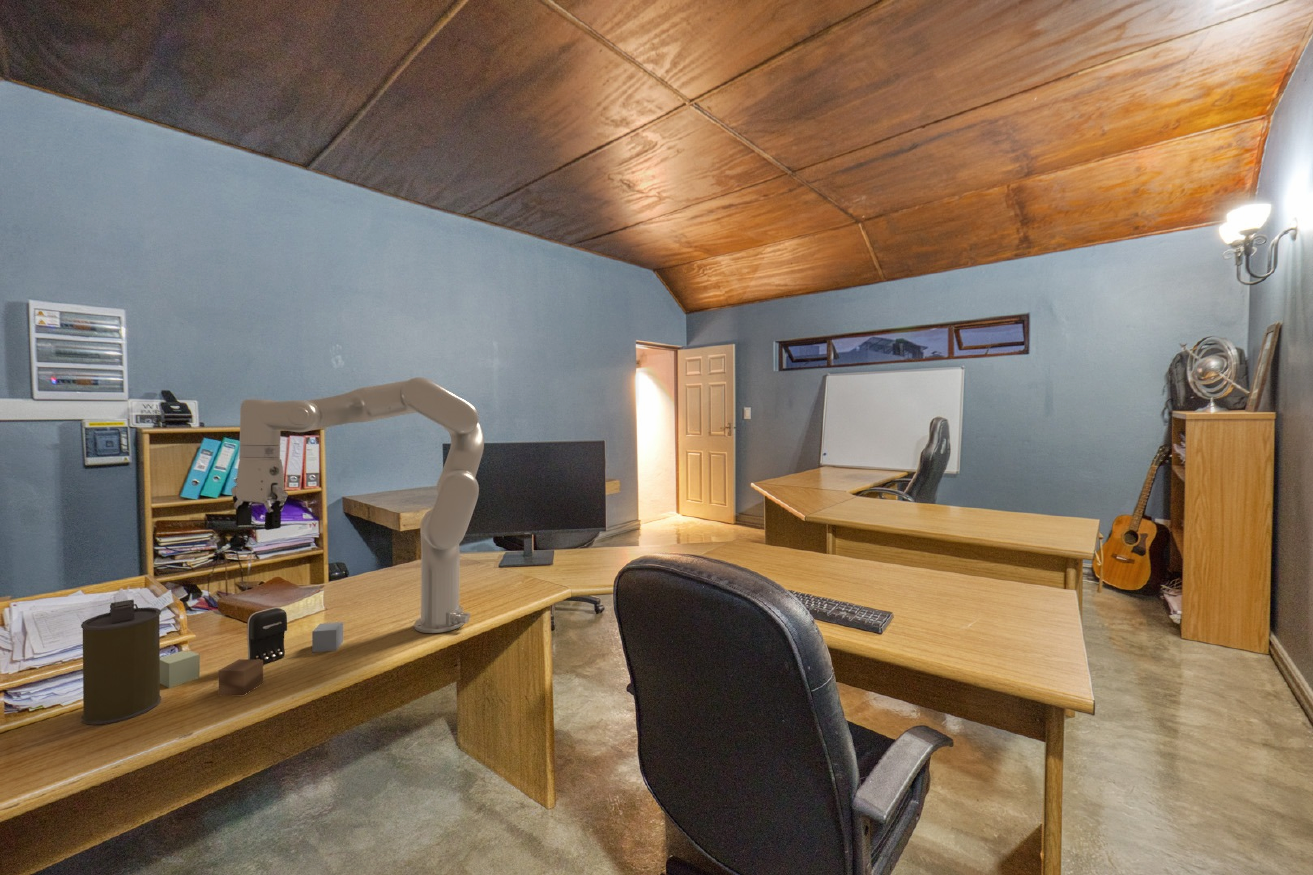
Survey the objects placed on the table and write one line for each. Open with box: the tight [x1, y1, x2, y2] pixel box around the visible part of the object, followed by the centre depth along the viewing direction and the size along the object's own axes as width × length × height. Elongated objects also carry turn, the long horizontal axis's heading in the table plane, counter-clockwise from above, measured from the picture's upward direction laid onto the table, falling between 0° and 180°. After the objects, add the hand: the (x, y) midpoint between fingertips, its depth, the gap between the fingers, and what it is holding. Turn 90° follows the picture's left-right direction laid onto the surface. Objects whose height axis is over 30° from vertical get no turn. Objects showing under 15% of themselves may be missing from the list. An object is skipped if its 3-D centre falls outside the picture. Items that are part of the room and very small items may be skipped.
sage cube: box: [160, 649, 201, 689], centre depth 110 cm, size 5×5×5 cm
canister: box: [80, 598, 162, 726], centre depth 98 cm, size 11×10×20 cm
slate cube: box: [311, 621, 344, 653], centre depth 127 cm, size 5×5×5 cm
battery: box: [246, 607, 288, 665], centre depth 119 cm, size 7×4×11 cm, turn 149°
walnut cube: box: [218, 658, 264, 696], centre depth 106 cm, size 5×5×5 cm
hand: (258, 526), depth 122 cm, fingers open, 9 cm apart
